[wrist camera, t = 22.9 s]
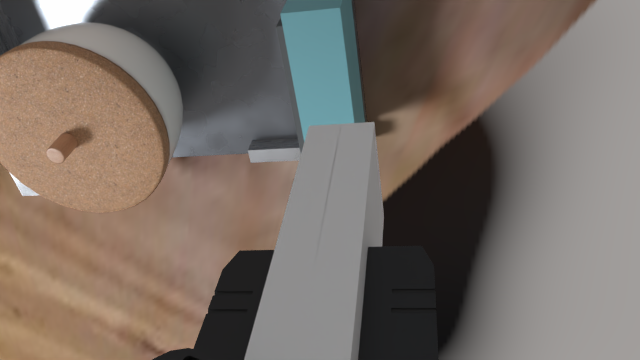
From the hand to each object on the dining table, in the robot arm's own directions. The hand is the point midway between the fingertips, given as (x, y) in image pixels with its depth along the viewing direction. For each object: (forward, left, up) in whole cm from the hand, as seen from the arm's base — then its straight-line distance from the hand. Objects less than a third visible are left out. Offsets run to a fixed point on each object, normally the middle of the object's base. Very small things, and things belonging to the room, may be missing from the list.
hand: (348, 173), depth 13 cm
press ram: (-4, -7, -21) cm, 22 cm away
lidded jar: (-18, -6, -22) cm, 29 cm away
